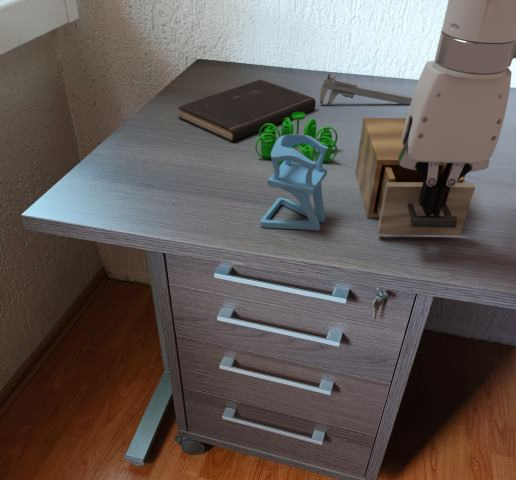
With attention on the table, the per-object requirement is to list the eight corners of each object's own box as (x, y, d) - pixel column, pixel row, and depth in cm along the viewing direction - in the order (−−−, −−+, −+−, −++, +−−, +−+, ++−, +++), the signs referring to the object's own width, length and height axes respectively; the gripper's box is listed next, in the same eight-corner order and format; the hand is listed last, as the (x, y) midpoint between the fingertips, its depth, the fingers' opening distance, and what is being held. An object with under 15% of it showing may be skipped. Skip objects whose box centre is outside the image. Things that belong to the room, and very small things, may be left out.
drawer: (469, 255, 70) (486, 206, 64) (383, 254, 70) (393, 204, 65) (437, 188, 83) (449, 142, 77) (365, 187, 83) (372, 142, 78)
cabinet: (452, 219, 78) (469, 160, 71) (367, 218, 78) (377, 159, 71) (430, 173, 88) (444, 118, 82) (355, 172, 88) (363, 117, 82)
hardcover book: (178, 118, 104) (177, 106, 102) (260, 90, 116) (260, 79, 114) (233, 143, 96) (232, 130, 94) (315, 110, 108) (316, 98, 106)
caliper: (319, 106, 109) (322, 73, 105) (319, 104, 110) (321, 72, 106) (416, 105, 110) (423, 72, 106) (415, 103, 111) (421, 71, 106)
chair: (313, 239, 74) (321, 157, 65) (259, 226, 76) (260, 145, 67) (330, 213, 79) (339, 133, 70) (278, 202, 81) (281, 123, 73)
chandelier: (351, 147, 95) (356, 108, 90) (316, 181, 86) (320, 140, 81) (278, 130, 100) (279, 92, 95) (238, 161, 91) (237, 120, 86)
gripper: (530, 46, 58) (478, 198, 71) (395, 42, 58) (367, 195, 70) (558, 67, 53) (496, 227, 65) (409, 62, 52) (376, 224, 65)
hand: (429, 210), depth 68 cm, fingers closed
